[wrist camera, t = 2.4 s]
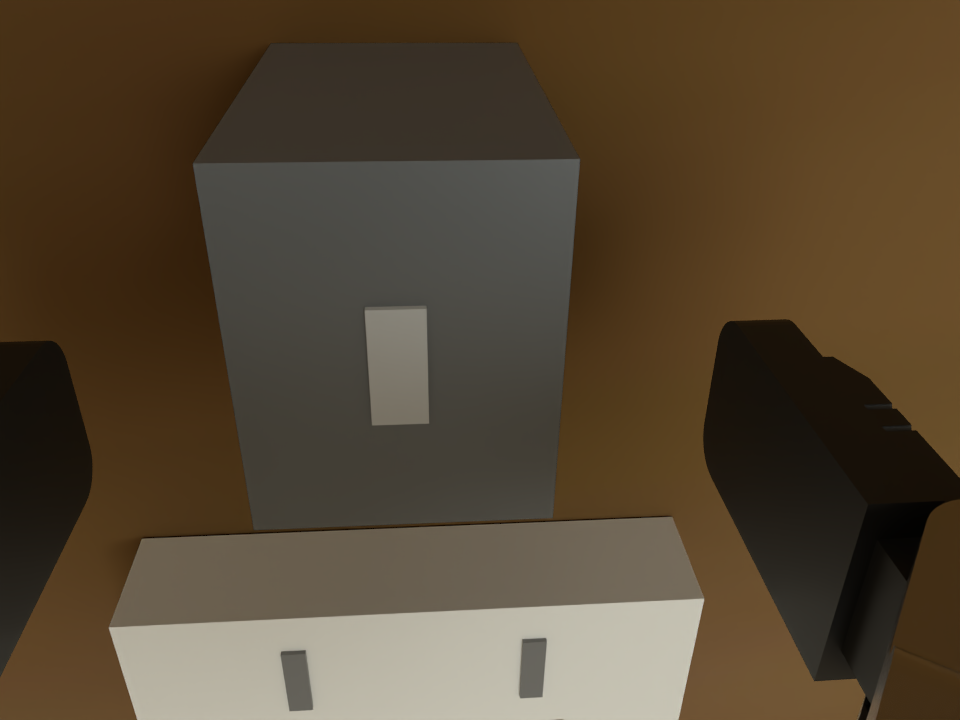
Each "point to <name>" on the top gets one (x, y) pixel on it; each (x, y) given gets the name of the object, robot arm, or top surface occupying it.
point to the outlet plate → (412, 623)
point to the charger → (392, 282)
